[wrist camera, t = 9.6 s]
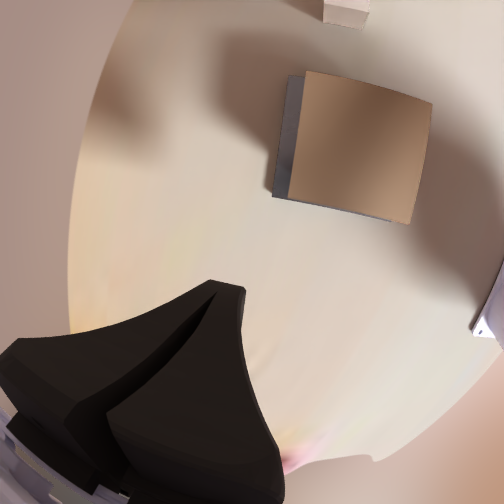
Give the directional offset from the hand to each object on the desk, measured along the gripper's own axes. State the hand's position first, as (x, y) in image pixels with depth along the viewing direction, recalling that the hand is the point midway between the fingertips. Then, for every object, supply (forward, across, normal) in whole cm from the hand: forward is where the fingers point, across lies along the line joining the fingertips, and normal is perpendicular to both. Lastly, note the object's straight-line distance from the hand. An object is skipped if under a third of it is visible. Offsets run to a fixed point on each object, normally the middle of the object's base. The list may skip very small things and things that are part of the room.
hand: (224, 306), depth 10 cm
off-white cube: (+10, -3, -16) cm, 19 cm away
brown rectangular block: (+10, -4, -6) cm, 12 cm away
